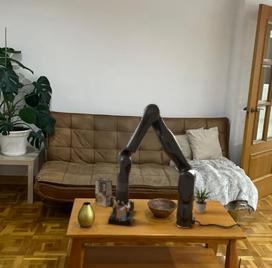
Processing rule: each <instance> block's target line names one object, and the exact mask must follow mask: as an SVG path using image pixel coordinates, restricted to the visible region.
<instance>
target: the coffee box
mask: <svg viewBox="0 0 272 268" xmlns="http://www.w3.org/2000/svg"><path fill="white" fill-rule="evenodd" d="M94 193H95V196H94V197H95V198H94V200H95V201H94V202H95V203H94V204H95V205H98V206H102V207H104V208H108V207H110V198H111V197H112V196H113V180H112V179H108V178H103V177H100V178H98V179H96V180H95V192H94Z"/></svg>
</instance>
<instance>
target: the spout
mask: <svg viewBox="0 0 272 268" xmlns="http://www.w3.org/2000/svg"><path fill="white" fill-rule="evenodd" d="M125 215H126V209H125V207H121V208H120V209H119V210H117V219H119V220H120V219H121V218H122V217H124V216H125Z"/></svg>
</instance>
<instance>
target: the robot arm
mask: <svg viewBox="0 0 272 268" xmlns="http://www.w3.org/2000/svg"><path fill="white" fill-rule="evenodd" d="M150 128H152V129H153V131H154V133H155V136H156V139H157V141H158V143H159V145H160V146H161V149H162V151H163V152H164V154H165V155H166V156H167V158H168V159H170V160H171V162H172V163H173V164H174V165H175V167H176V169H177V171H178V174H179V175H178V180H177V201H176V213H175V219H174V220H175V224H174V225H175V227H178V228H180V229H192V225H196V223H198V225H199V226H201V227H209V226H215V227H220V228H224V229H231V228H233V227H235V226H237V227H239V228H241V225H240V224H238V223H235V224H232V225H230V226H229V225H228V226H225V225H221V224H216V223H208V224H207V223H206V224H202V223H201V221H199V220H196V216H194V202H195V201H194V200H195V197H194V196H195V183H196V180H197V173H196V171H195V170H194V168H193V167H192V165H191V164H190V163H189V161H188V160H187V158H186V156H185V154H184V152H183V150H182V147H181V146H180V143H179V142H178V140H177V139H176V137H175V135H174V134H173V132H172V131H171V130H170V129H169V128H168V126H167V125H166V124H165V121H164V120H163V117H162V115H161V109H160V106H158V104H156V103H149V104H147V105H146V106H145V107H144V108H143V113H142V116H141V119H140V120H139V123H138V124H137V127H136V128H135V130H134V131H133V133H132V134H131V135H130V137H129V139H128V140H127V142H126V144H125V146H124V147H123V148H122V149H121V150H120V152H118V154H117V156H116V159H115V160H116V161H115V162H116V164H117V165H119V170H118V171H117V173H116V183H115V196H114V195H112V197H111V198H110V205H109V207H110V208H112V213H113V214H114V215H115V214H116V206H122V207H125V209H127V218H128V217H129V216H130V213H131V211H133V212H134V210H135V200H134V199H132V200H131V199H129V198H130V174H131V172H132V167H133V161H132V158H131V156H133V154H136V153H137V152H138V150H139V148H140V146H141V144H142V142H143V141H144V139H145V137H146V135H147V133H148V131H149V130H150ZM126 205H127V206H126ZM241 262H242V258H239V262H238V268H241Z"/></svg>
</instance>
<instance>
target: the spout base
mask: <svg viewBox="0 0 272 268" xmlns="http://www.w3.org/2000/svg"><path fill="white" fill-rule="evenodd" d="M134 215H135V214H133V213H132V214H130V216H129V217H128V218H127V214H126V215H125V216H124V217H122V218H121V219H120V220H119V219H117V213H116V214H115V215H114V214H113V212H111V213H110V215H109V217H108V220H107V221H108V222H107V224H108V225H111V226H112V225H113V226H123V227H132V225H133V222H134Z"/></svg>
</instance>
